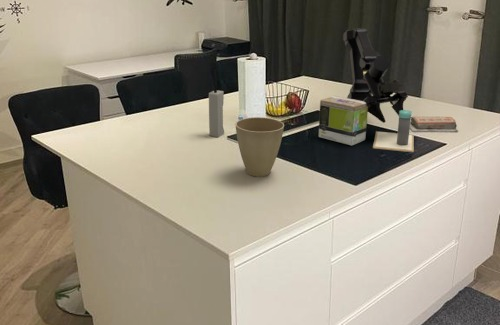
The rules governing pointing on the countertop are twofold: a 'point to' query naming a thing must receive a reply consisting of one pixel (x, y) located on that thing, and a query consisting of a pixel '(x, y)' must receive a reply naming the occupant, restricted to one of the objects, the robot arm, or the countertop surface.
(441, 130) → the packaged product
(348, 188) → the countertop surface
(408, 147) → the notepad
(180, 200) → the countertop surface
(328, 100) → the tea box
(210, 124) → the vintage mobile phone
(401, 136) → the gray bottle teal cap
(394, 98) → the robot arm
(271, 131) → the plant pot
